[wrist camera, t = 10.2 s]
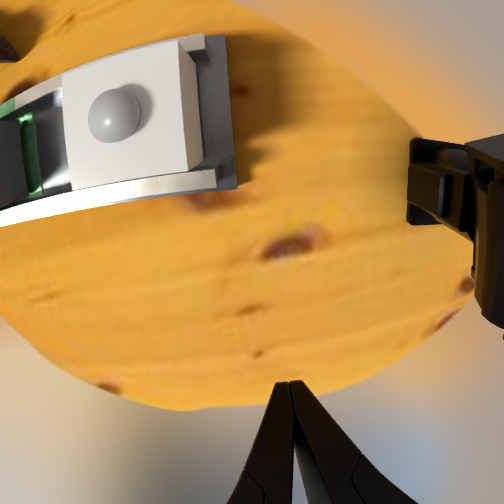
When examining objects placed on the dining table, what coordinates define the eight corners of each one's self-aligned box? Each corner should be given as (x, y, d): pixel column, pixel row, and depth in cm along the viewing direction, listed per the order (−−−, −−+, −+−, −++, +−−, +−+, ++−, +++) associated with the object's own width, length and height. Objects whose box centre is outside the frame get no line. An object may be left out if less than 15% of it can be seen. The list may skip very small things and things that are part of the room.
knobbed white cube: (195, 64, 14) (174, 35, 9) (203, 160, 16) (185, 172, 11) (103, 85, 14) (55, 74, 9) (112, 174, 16) (66, 193, 11)
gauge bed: (225, 39, 14) (217, 1, 9) (237, 186, 18) (234, 210, 13) (-23, 127, 14) (-67, 137, 9) (-8, 226, 18) (-48, 251, 13)
